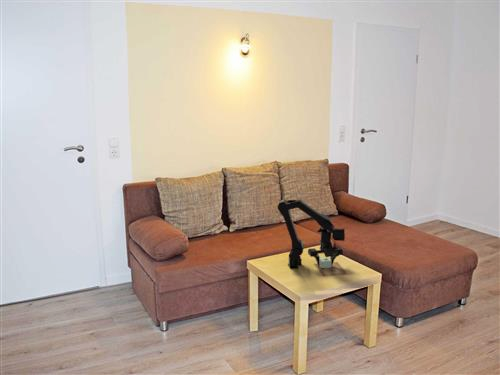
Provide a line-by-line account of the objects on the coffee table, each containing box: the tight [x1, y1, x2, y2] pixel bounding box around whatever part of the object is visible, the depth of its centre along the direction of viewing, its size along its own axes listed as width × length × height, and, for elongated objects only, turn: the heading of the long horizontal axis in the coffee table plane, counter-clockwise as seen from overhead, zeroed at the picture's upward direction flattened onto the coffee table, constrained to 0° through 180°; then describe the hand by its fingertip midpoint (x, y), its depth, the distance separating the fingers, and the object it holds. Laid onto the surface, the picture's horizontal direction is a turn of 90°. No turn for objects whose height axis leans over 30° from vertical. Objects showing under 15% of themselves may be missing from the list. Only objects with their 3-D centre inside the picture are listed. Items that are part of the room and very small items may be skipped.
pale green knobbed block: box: [319, 256, 332, 268], centre depth 250 cm, size 6×6×4 cm
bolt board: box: [313, 261, 349, 277], centre depth 247 cm, size 14×18×4 cm
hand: (324, 266), depth 251 cm, fingers open, 7 cm apart
